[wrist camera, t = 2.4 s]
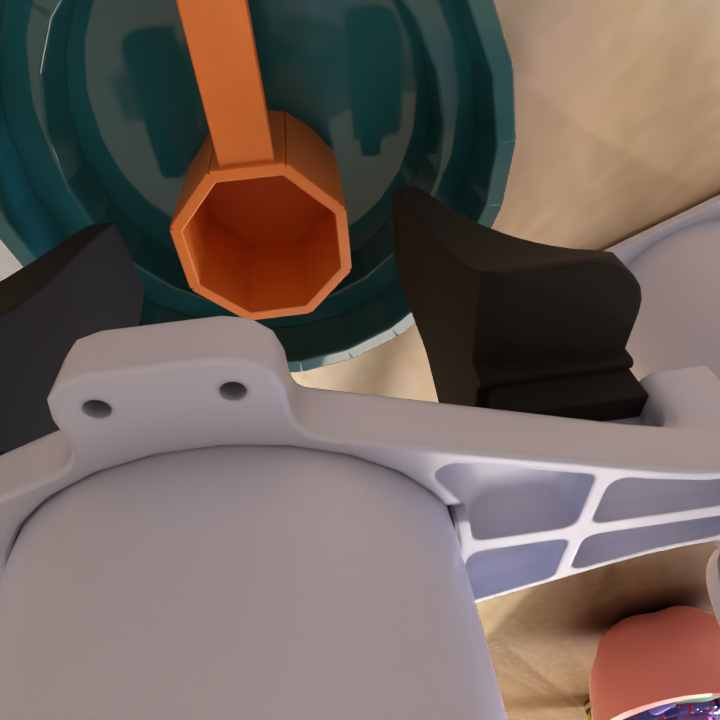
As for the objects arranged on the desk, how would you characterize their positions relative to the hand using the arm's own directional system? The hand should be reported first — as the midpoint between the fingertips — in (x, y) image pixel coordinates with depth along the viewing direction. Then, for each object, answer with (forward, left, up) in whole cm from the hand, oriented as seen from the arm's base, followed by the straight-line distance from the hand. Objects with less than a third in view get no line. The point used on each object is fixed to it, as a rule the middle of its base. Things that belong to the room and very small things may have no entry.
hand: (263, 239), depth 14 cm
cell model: (-55, -6, -4) cm, 56 cm away
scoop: (+2, -1, -4) cm, 4 cm away
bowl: (+1, -1, -4) cm, 4 cm away
